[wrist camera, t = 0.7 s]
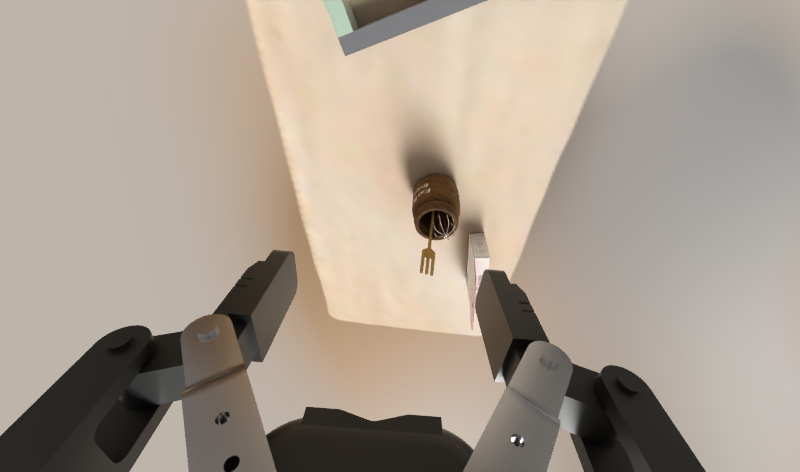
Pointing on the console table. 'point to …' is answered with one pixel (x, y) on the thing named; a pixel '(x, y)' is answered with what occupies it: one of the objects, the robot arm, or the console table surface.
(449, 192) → the utensil holder
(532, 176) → the console table surface
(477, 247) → the ink cartridge box
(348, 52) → the port panel
